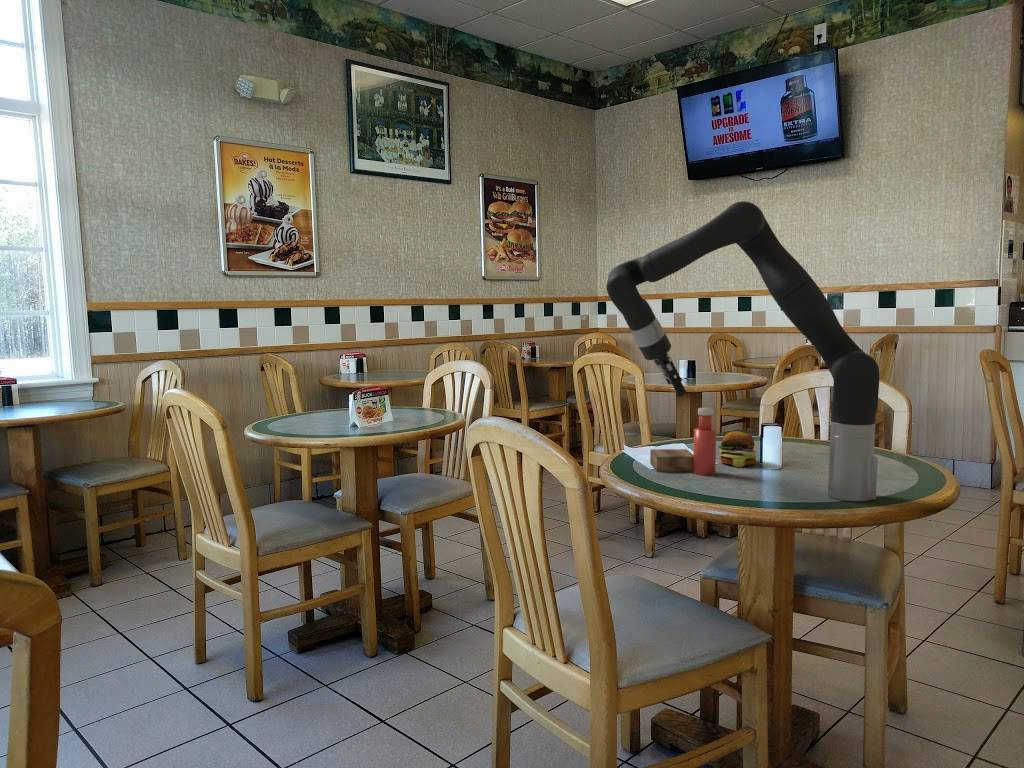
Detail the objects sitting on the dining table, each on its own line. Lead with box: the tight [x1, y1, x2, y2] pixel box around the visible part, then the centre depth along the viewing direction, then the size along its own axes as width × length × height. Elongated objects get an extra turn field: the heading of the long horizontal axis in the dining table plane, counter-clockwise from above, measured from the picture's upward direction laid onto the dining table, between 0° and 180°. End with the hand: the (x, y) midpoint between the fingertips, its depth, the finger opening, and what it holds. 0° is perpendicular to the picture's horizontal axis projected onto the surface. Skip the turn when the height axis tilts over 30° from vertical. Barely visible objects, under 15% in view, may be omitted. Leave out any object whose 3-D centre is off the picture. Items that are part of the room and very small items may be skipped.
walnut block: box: [649, 448, 694, 473], centre depth 204 cm, size 10×10×4 cm
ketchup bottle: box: [692, 407, 717, 476], centre depth 196 cm, size 6×6×17 cm
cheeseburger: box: [718, 430, 757, 468], centre depth 209 cm, size 10×11×10 cm
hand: (677, 388), depth 197 cm, fingers open, 8 cm apart
